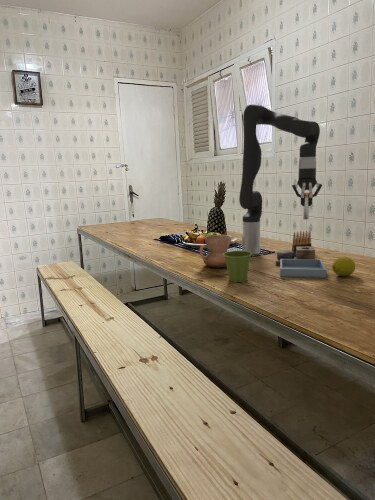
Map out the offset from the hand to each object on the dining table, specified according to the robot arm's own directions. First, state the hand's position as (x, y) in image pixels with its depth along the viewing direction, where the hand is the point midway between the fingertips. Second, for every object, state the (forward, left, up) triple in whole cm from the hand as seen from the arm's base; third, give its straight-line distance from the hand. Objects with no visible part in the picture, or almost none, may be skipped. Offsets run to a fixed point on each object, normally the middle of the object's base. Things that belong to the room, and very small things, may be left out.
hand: (306, 205), depth 176 cm
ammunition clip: (0, +20, -27) cm, 34 cm away
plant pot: (-28, -32, -27) cm, 51 cm away
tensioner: (-4, 0, -27) cm, 27 cm away
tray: (-2, -17, -27) cm, 32 cm away
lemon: (+14, -22, -27) cm, 37 cm away
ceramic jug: (-40, -9, -27) cm, 50 cm away
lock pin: (0, 0, -6) cm, 6 cm away
